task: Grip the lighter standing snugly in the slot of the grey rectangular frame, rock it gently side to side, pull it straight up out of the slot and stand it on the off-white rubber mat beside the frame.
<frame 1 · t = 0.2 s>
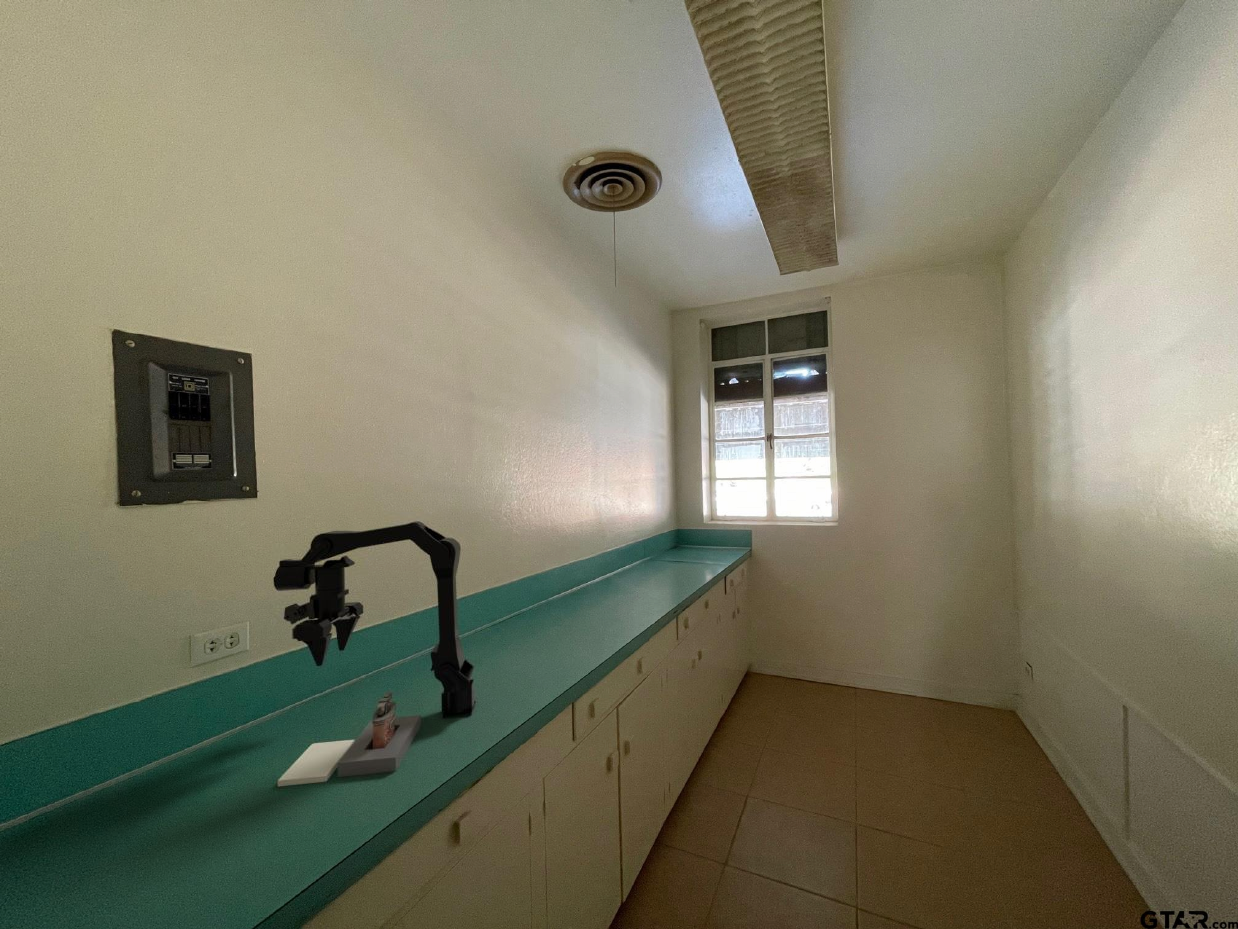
hand: (331, 657, 106), 14 cm above the worktop, tool pointing down, fingers open, 9 cm apart
rubber mat: (318, 764, 90), on the worktop
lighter: (384, 749, 95), resting in grey rectangular frame
grey rectangular frame: (383, 749, 94), on the worktop
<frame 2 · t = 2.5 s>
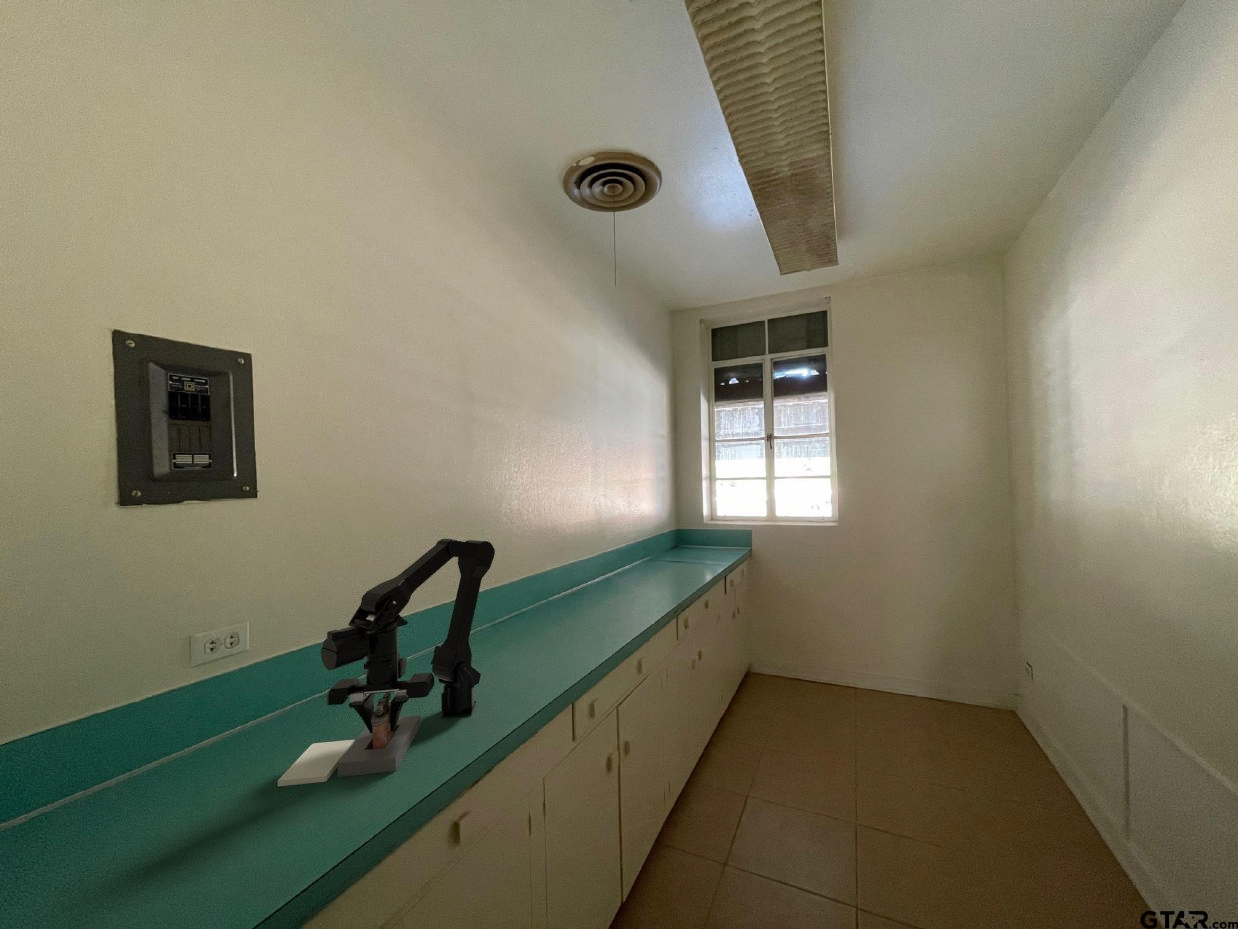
hand: (383, 731, 94), 4 cm above the worktop, tool pointing down, fingers closed on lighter, 3 cm apart
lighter: (384, 749, 95), resting in grey rectangular frame, touching gripper
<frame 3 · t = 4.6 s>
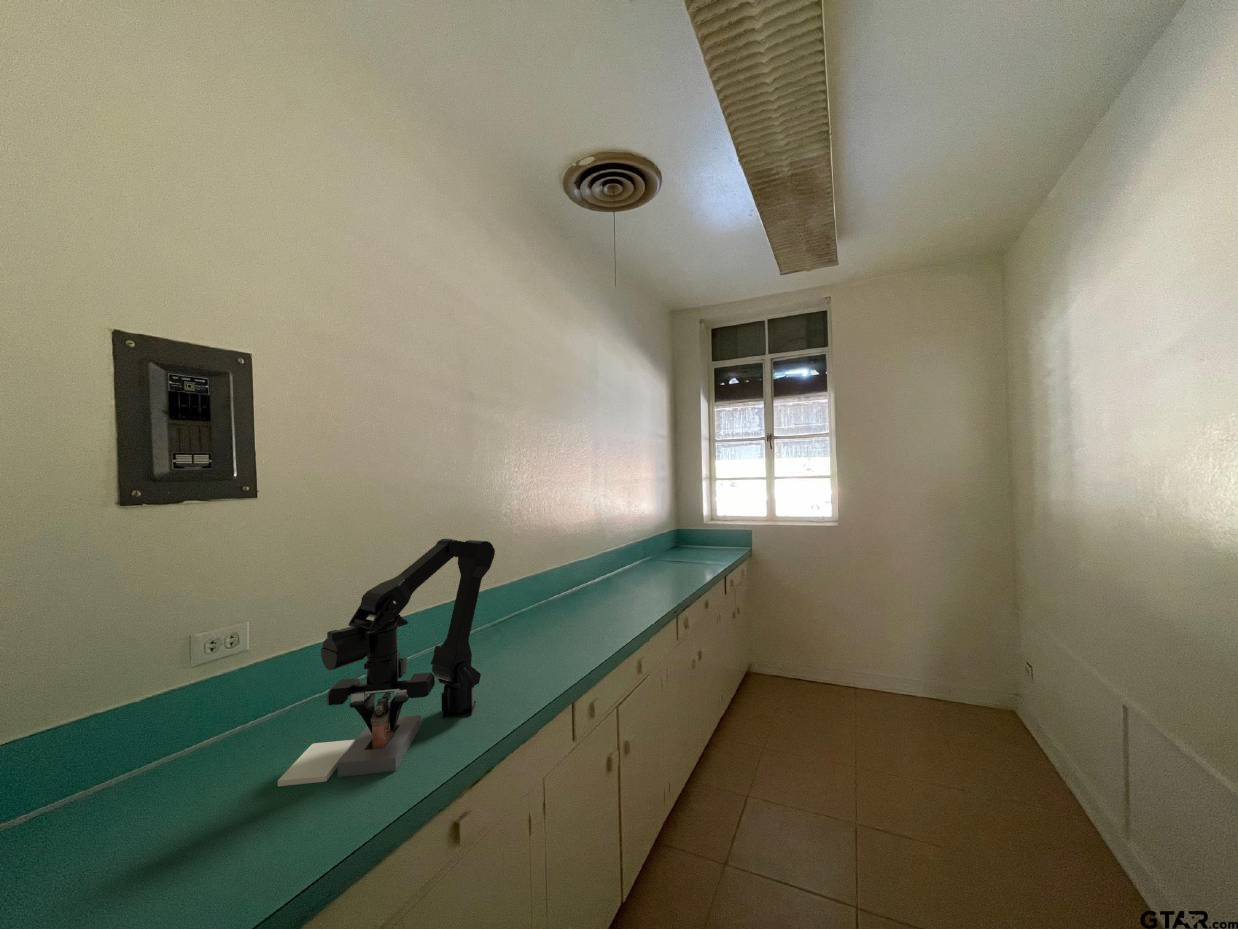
hand: (383, 731, 94), 4 cm above the worktop, tool pointing down, fingers closed on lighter, 3 cm apart
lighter: (383, 749, 95), resting in grey rectangular frame, touching gripper
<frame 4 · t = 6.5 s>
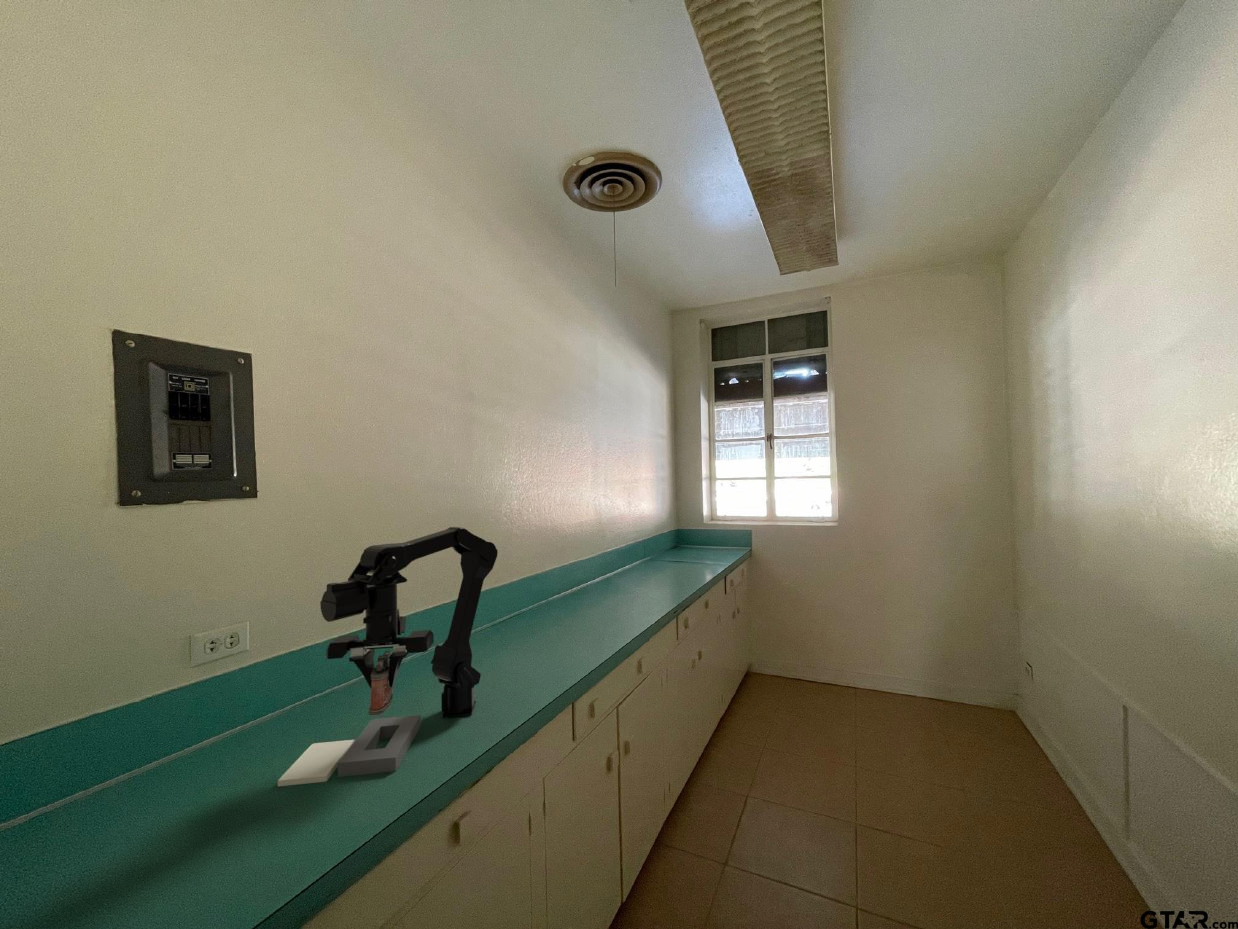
hand: (382, 687, 95), 12 cm above the worktop, tool pointing down, fingers closed on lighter, 3 cm apart
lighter: (381, 707, 95), point 8 cm above the worktop, touching gripper
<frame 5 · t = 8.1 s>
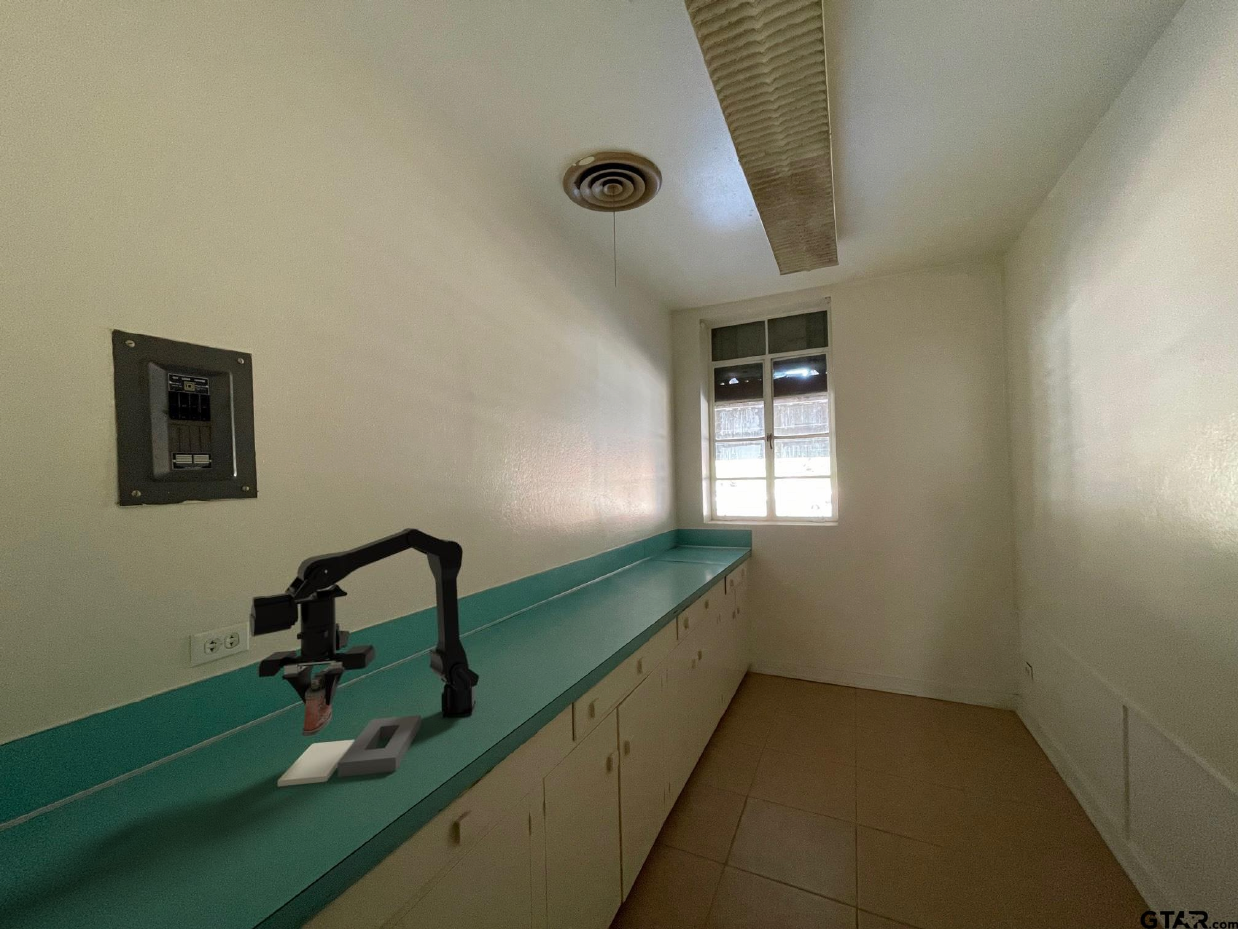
hand: (319, 705, 90), 11 cm above the worktop, tool pointing down, fingers closed on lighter, 3 cm apart
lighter: (317, 726, 90), point 7 cm above the worktop, touching gripper
when the fingers open (5 cm above the worktop, at t = 9.2 s): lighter stays where it is, resting on rubber mat.
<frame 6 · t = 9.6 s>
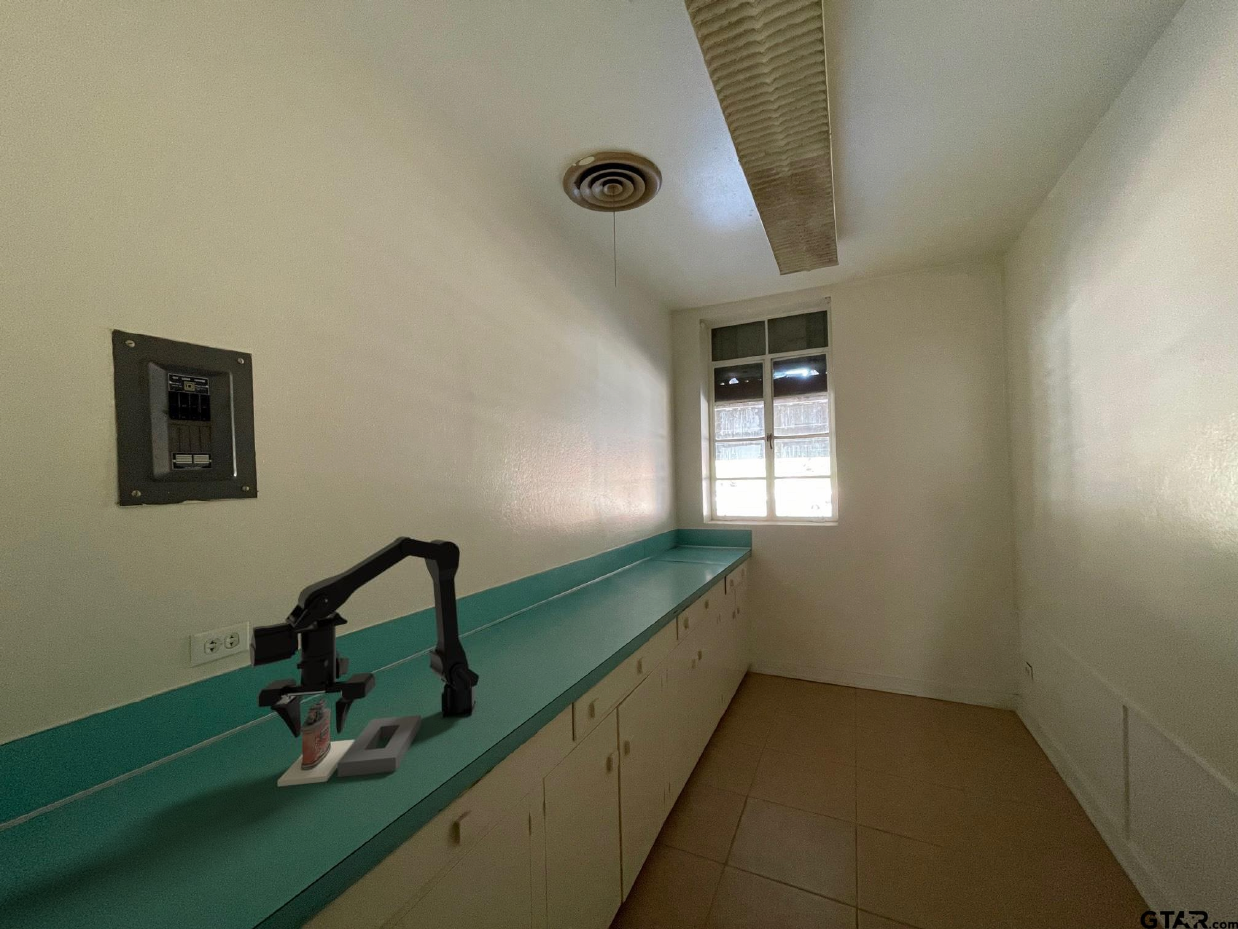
hand: (318, 734, 90), 5 cm above the worktop, tool pointing down, fingers open, 7 cm apart
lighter: (316, 759, 90), point 1 cm above the worktop, touching rubber mat
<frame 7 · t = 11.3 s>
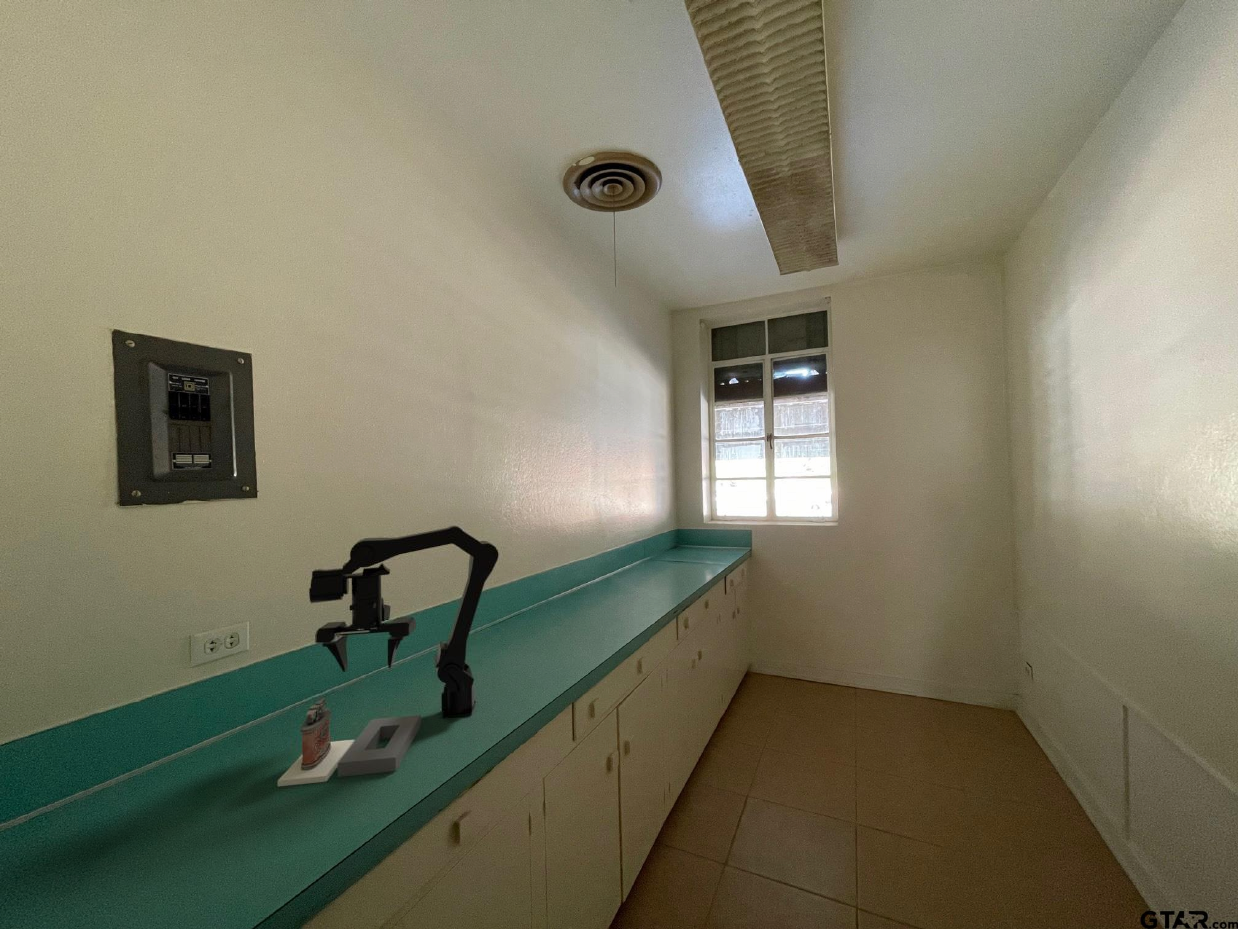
hand: (367, 669, 103), 13 cm above the worktop, tool pointing down, fingers open, 9 cm apart
nothing on the worktop moved.
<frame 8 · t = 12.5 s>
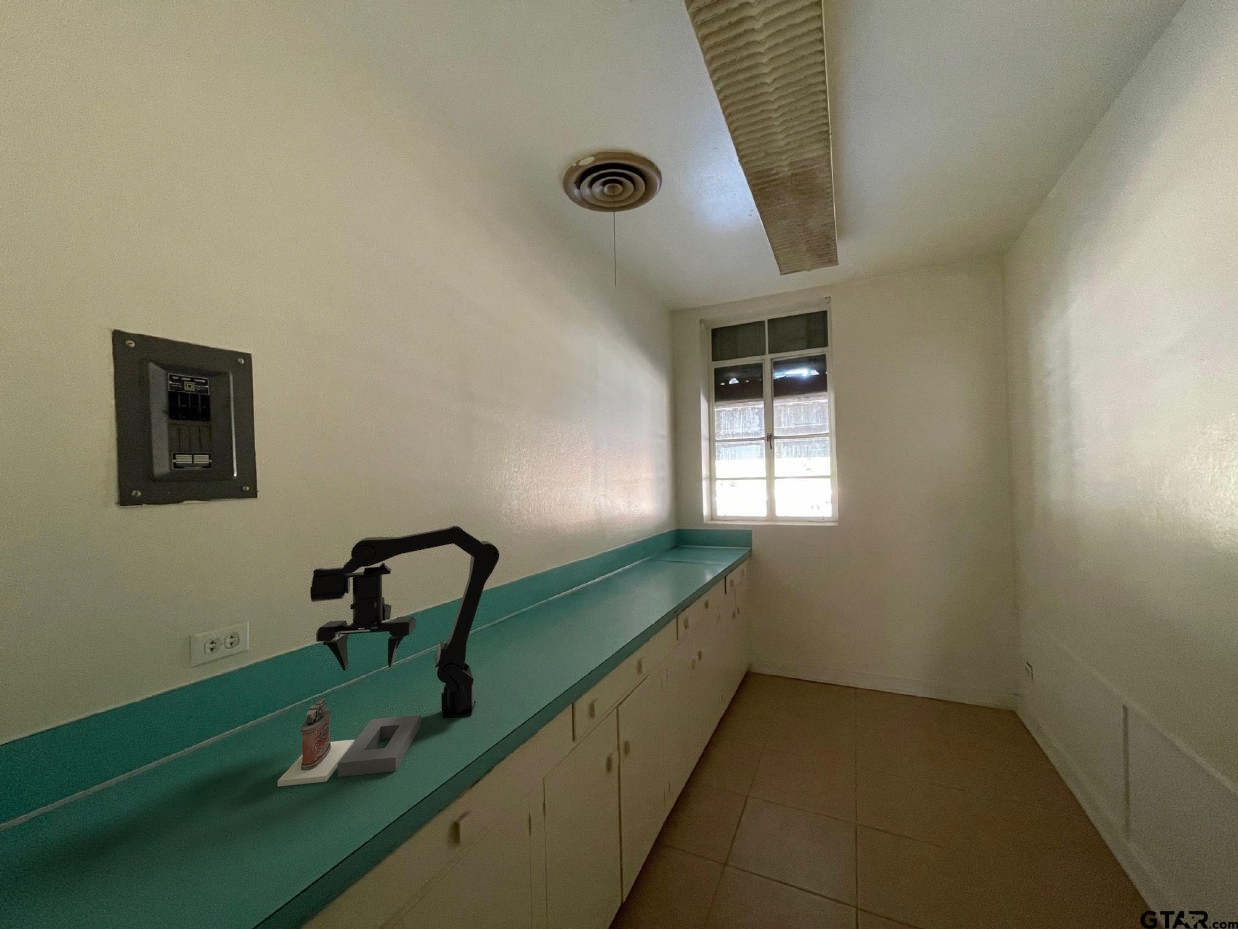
hand: (368, 668, 103), 13 cm above the worktop, tool pointing down, fingers open, 9 cm apart
nothing on the worktop moved.
at the end: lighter inside the target area on the rubber mat (0.7 cm from its centre), point 0.8 cm above the rubber mat's base; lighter tilted 0°; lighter touching rubber mat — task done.
